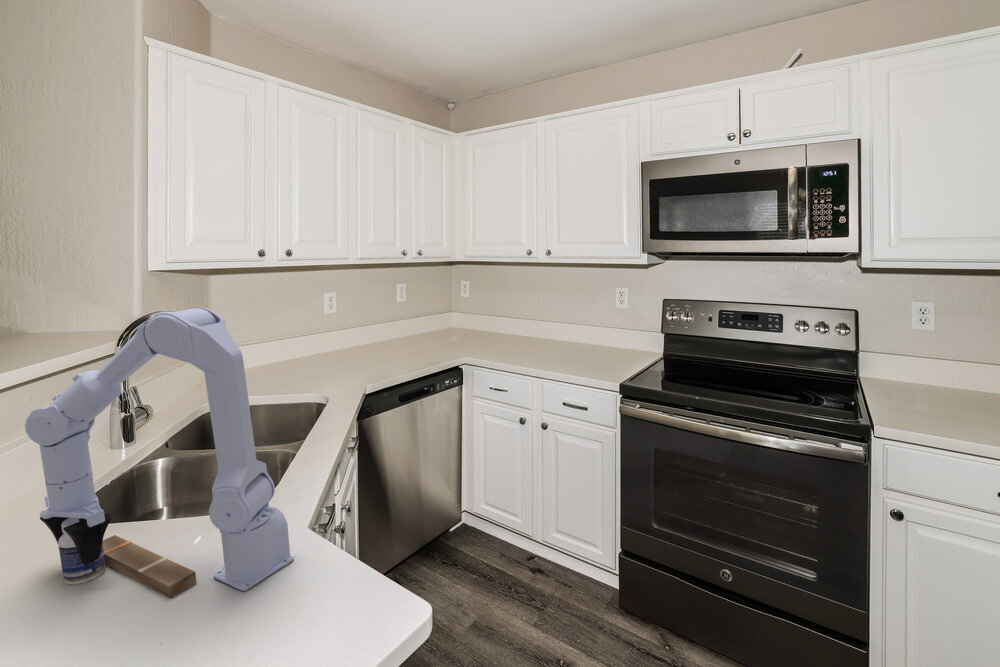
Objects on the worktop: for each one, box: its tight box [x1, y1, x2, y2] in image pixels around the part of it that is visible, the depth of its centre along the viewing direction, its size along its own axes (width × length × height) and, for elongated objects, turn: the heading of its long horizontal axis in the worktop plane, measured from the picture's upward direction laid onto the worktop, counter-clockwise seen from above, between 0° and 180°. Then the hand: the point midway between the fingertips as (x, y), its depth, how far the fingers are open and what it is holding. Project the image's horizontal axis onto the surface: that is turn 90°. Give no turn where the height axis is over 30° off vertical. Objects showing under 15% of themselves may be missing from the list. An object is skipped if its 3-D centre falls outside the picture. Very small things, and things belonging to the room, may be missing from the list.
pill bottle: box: [57, 518, 107, 586], centre depth 82 cm, size 5×5×10 cm
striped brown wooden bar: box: [103, 535, 198, 599], centre depth 84 cm, size 4×24×2 cm, turn 62°
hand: (81, 555), depth 82 cm, fingers open, 6 cm apart
